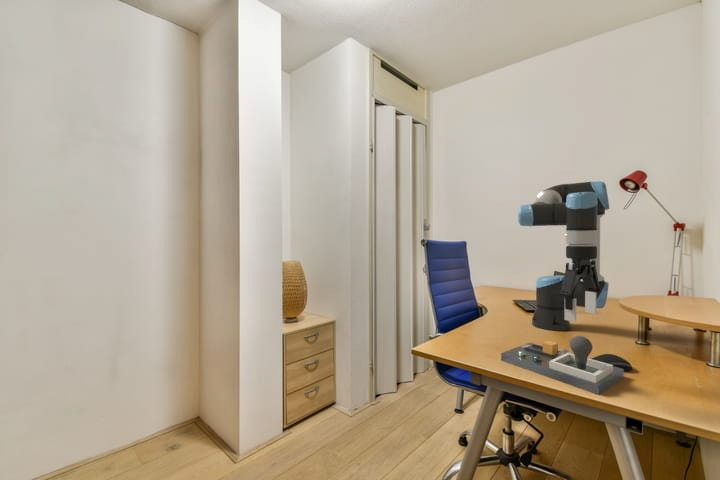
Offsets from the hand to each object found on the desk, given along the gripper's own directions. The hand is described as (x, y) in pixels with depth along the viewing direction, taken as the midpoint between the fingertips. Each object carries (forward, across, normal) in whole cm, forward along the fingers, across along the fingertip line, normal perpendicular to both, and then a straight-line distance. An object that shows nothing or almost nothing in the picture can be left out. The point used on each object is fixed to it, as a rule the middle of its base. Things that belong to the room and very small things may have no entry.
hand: (580, 316), depth 94 cm
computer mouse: (+19, -16, +2) cm, 25 cm away
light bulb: (+16, 0, 0) cm, 16 cm away
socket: (+16, +1, 0) cm, 16 cm away
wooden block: (+16, -5, -11) cm, 20 cm away
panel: (+18, -1, -7) cm, 20 cm away
